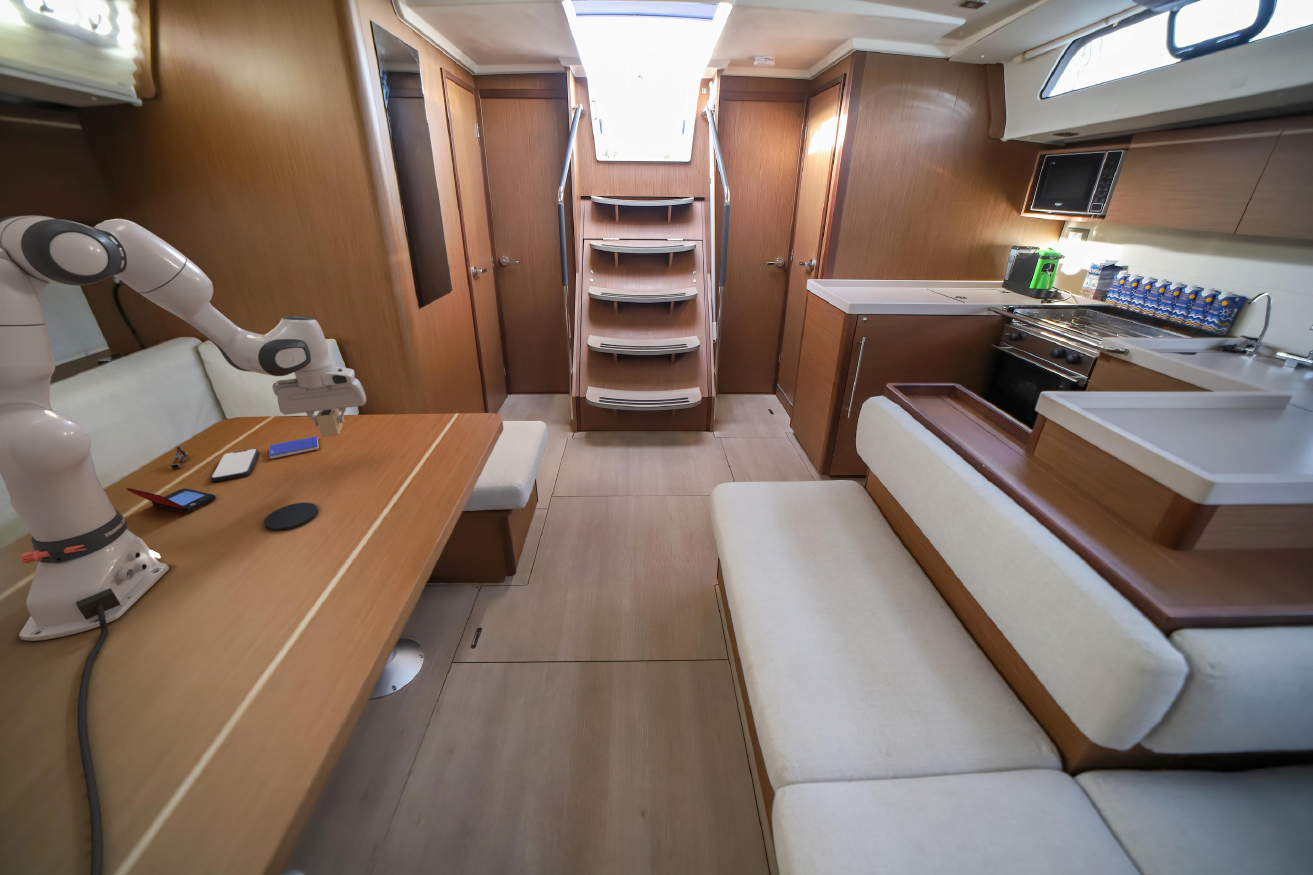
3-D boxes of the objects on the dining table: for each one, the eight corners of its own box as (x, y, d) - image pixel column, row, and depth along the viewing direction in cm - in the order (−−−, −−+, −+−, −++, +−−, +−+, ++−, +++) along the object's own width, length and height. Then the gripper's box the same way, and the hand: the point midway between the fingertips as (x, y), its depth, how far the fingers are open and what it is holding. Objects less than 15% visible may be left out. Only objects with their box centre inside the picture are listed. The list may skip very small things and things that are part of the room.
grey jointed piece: (191, 452, 151) (182, 443, 147) (185, 473, 146) (177, 463, 143) (183, 453, 150) (175, 444, 147) (177, 474, 146) (169, 465, 142)
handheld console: (219, 498, 130) (208, 474, 127) (172, 522, 121) (159, 496, 118) (185, 490, 133) (173, 466, 130) (137, 512, 124) (123, 487, 121)
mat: (313, 525, 120) (312, 522, 120) (258, 535, 117) (257, 532, 116) (322, 501, 129) (321, 499, 129) (271, 510, 126) (270, 507, 125)
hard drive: (268, 455, 149) (317, 445, 155) (269, 444, 155) (316, 435, 161) (270, 459, 149) (318, 449, 155) (271, 449, 155) (317, 439, 162)
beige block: (343, 424, 145) (337, 404, 142) (338, 435, 138) (332, 414, 136) (327, 426, 143) (321, 406, 141) (322, 437, 137) (315, 416, 134)
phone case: (250, 476, 141) (260, 452, 153) (248, 471, 140) (258, 447, 153) (211, 484, 137) (224, 458, 150) (208, 479, 136) (222, 453, 149)
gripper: (266, 384, 127) (283, 433, 133) (357, 376, 134) (369, 422, 140) (273, 377, 133) (289, 424, 139) (360, 369, 139) (372, 414, 145)
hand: (330, 423), depth 139 cm, fingers closed on beige block, 4 cm apart
